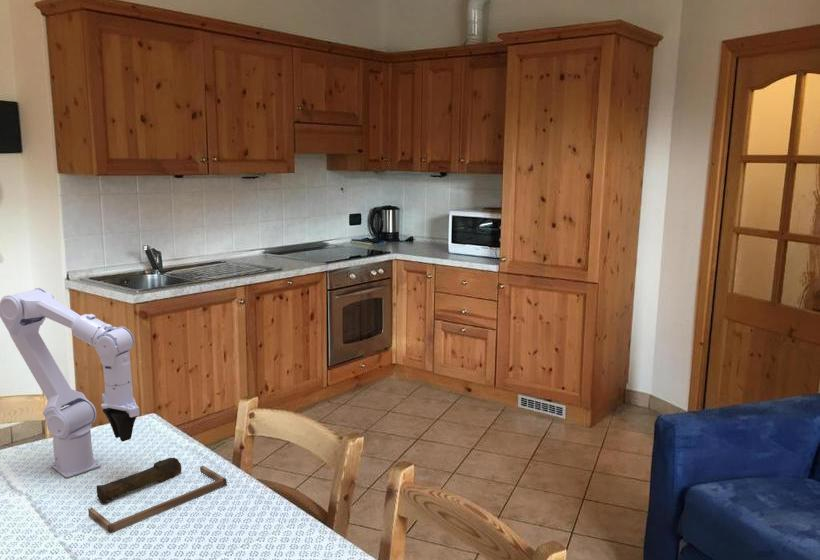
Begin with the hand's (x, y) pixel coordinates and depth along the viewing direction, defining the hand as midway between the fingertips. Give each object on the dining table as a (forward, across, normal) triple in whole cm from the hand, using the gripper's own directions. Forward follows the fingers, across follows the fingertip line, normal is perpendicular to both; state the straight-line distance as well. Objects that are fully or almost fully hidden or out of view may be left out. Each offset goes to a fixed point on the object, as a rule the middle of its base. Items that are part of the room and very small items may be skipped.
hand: (123, 438), depth 156 cm
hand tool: (+10, +7, 0) cm, 12 cm away
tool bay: (+9, +16, 0) cm, 19 cm away
